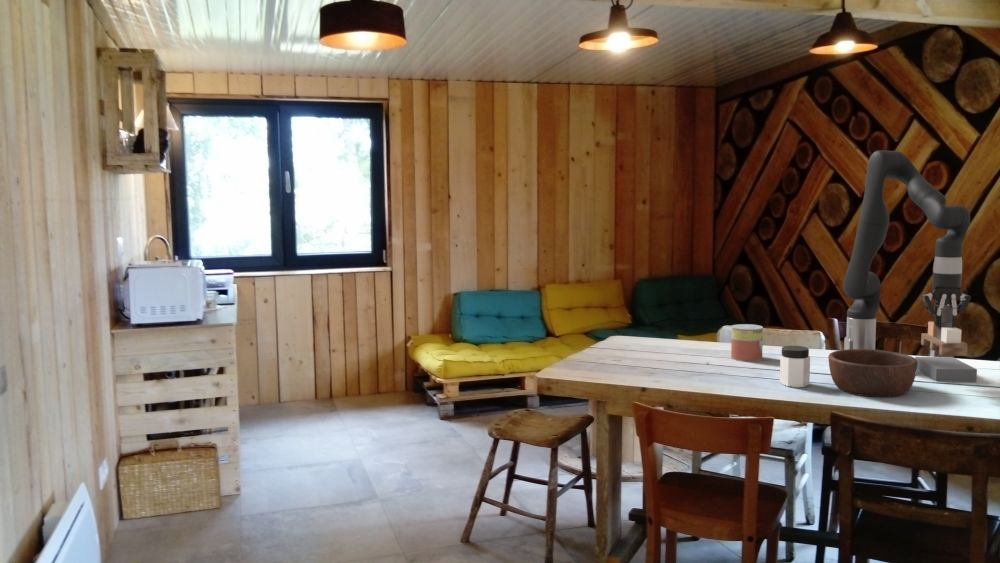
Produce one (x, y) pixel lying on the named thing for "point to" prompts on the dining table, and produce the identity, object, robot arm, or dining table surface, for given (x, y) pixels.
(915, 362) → the wooden bowl
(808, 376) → the jar
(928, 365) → the dock
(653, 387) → the dining table surface
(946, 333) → the block
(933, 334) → the cargo terracotta
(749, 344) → the canned food
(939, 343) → the pallet
